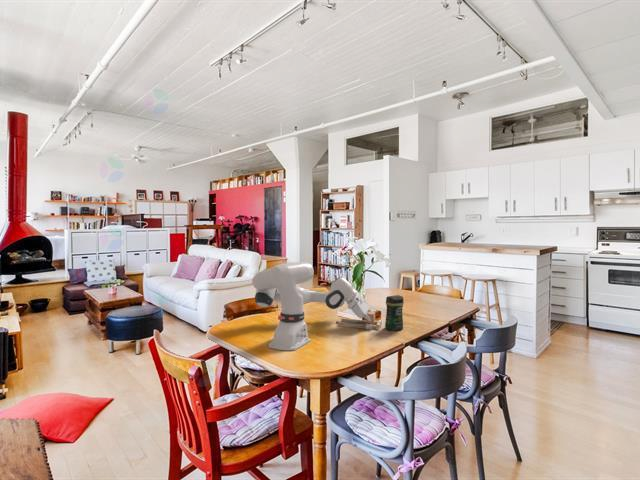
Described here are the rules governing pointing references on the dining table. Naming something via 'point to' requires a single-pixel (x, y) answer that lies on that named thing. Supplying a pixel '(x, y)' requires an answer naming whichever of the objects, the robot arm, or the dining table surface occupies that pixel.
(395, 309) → the coffee jar
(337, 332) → the dining table surface
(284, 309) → the robot arm
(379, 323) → the comb track
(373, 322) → the marker sleeve
